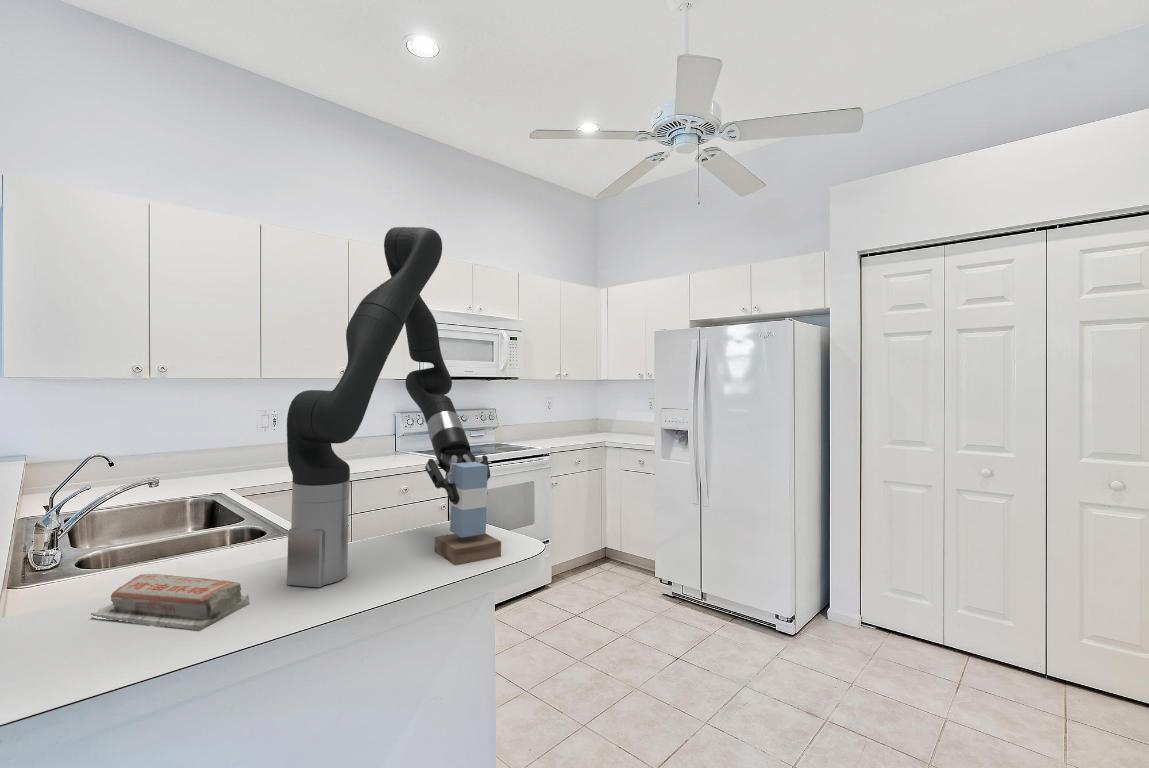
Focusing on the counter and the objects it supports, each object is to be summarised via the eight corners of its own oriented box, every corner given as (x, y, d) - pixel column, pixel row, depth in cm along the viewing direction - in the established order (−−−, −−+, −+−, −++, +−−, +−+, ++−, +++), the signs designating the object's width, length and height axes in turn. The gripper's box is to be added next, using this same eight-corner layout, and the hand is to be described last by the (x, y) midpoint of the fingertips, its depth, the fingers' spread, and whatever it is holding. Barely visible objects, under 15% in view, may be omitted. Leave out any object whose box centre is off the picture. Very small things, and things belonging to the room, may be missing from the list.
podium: (500, 556, 111) (501, 541, 111) (455, 565, 105) (455, 549, 105) (478, 543, 119) (478, 529, 119) (434, 551, 113) (435, 536, 113)
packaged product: (253, 574, 85) (200, 600, 75) (252, 605, 85) (199, 634, 76) (153, 565, 88) (89, 588, 78) (152, 595, 88) (88, 622, 78)
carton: (486, 533, 111) (488, 465, 111) (461, 537, 108) (463, 467, 108) (473, 527, 116) (475, 461, 116) (449, 531, 112) (451, 463, 112)
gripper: (421, 426, 114) (443, 493, 105) (482, 424, 123) (508, 486, 113) (411, 448, 118) (431, 515, 109) (471, 445, 127) (495, 506, 118)
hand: (470, 500), depth 111 cm, fingers closed on carton, 5 cm apart
